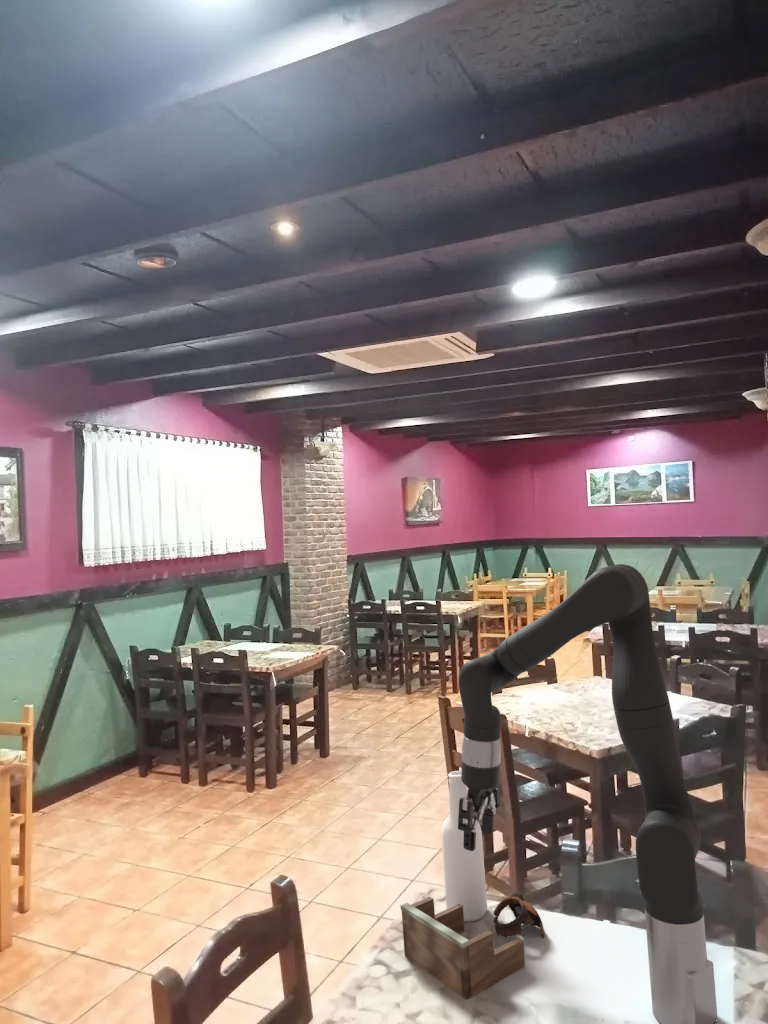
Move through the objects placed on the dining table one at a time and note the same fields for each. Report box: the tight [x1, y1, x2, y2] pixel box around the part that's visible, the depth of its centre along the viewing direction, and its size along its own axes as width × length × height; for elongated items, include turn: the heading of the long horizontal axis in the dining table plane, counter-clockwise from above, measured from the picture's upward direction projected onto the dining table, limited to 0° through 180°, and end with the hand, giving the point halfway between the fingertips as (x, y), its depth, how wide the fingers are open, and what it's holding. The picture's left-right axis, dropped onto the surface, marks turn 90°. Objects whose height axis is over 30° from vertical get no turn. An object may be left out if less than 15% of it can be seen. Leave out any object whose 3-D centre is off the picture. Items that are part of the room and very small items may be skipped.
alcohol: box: [440, 770, 488, 923], centre depth 161 cm, size 9×9×30 cm
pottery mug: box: [492, 891, 546, 939], centre depth 151 cm, size 12×10×8 cm
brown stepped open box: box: [399, 896, 526, 1000], centre depth 142 cm, size 18×15×10 cm
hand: (478, 840), depth 144 cm, fingers open, 8 cm apart
